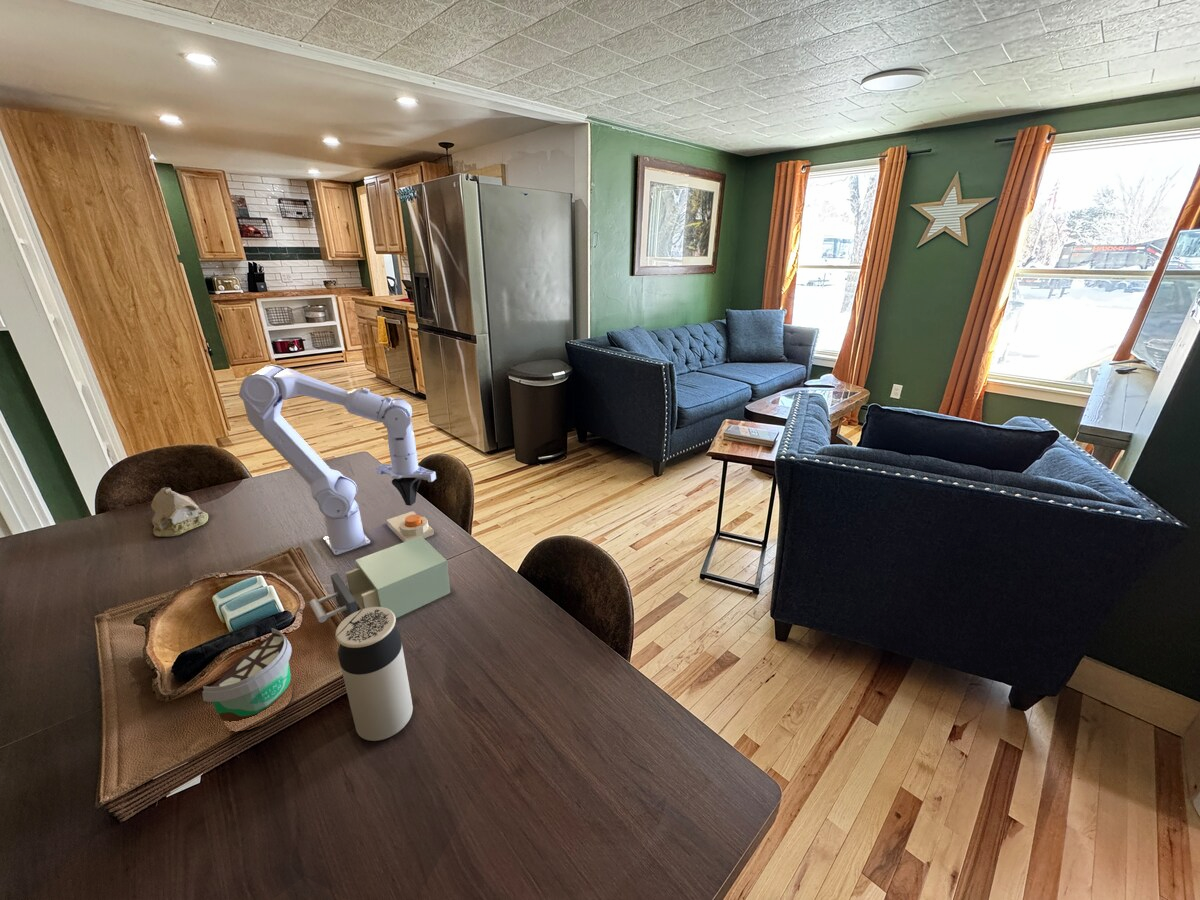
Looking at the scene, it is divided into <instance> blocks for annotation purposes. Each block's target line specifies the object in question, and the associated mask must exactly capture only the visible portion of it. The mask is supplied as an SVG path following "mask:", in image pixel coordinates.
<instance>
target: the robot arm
mask: <svg viewBox="0 0 1200 900" xmlns="http://www.w3.org/2000/svg"><path fill="white" fill-rule="evenodd" d="M370 390H371V389H370V388H367V387H363V388H362V389H361V388H359V387H358V388H355V389H352V390H347V389H344V388H342V387H338V386H336V385H333V384H330V383H328V382H325V381H323V380H320V379H318V378H315V377H312V376H309V375H307V374H303V373H302V372H299V371H297V370H295V369H293V368H287V367H286V368H284V367H283V366H281V365H278V364H267V365H264V366H262V367H261V368H260V369H259V370H258V371H255V372H254V373H251V374H249V375H247V376H246V377H244V378H243V380H242V382H241V384H240V388H239V392H238V397H239V398H240V399H241V400H242V401H243V405H244V406H243V407H244V409H245V413H246V417H247V421H248V422H249V423H250V425H251V426H252V427H253V429H255V430H256V431H257V432H258V433H259V434H260V435H261V436H262V437H263V438H264V440H265V441H267V442H268V443H269V444H270V445H271V447H273V449H274V450H275V451H276V452H277V453H278V454H280V456H281V457H282V458H283V459H284V460H285V461H286V462H287V463H288V464H289V465H290V466H291V467H292V468H293V469H294V470H295V471H296V472H297V474H299V476H301V478H303V479H304V480H305V482H306V483H307V484H308V485H309V488H310V491H311V495H312V498H313V500H314V501H315V502H316V503H317V505H318V509H319V511H320V512H321V514H322V515H323V521H324V525H325V529H326V534H327V535H326V536H324V537H323V540H324V542H325V543H326V545H327V547H328V548H329V549H330V550H331V552H332V554H333V555H334V556H339V555H341V554H344V553H347V552H350V551H353V550H356V549H358V548H361V547H365V546H367V545H370V544H371V543H372V542H371V540H370V539H369V537H368V536H367V535H366V534H365V532H364V529H363V528H364V527H363V523H362V522H363V521H362V517H361V512H360V507H359V503H358V502H357V501H356V500H355V497H356V495H358V486H357V483H356V482H355V481H354V480H353V479H351V478H349V477H347V476H345V475H344V474H343V473H342V472H341V471H339V470H336V469H333V468H331V467H330V466H329V465H328V464H327V463H326V462H325V461H324V459H322V458H321V457H320V456H319V454H318V453H317V452H316V451H315V450H314V449H313V448H312V447H311V445H309V444H308V442H307V441H306V440H305V439H304V438H303V437H302V436H301V435H300V434H299V432H298V431H297V430H296V429H295V428H293V426H292V425H291V424H290V423H289V422H288V421H287V420H286V419H285V418H284V416H283V415H282V413H281V411H282V407H283V403H284V400H288V399H293V398H295V397H296V398H297V397H299V396H305V397H309V398H312V399H316V400H321V401H325V402H328V403H332V404H335V405H340V406H343V407H344V408H345V410H346V411H347V412H348V414H350V415H354V416H357V417H361V418H364V419H368V420H370V421H374V422H376V423H382V425H383V426H384V427H385V428H386V433H387V434H386V438H387V443H388V450H389V451H388V452H389V457H390V464H389V463H381V464H379V465H377V466H376V473H377V475H380V476H382V475H389V476H390V475H391V478H392V480H391V484H392V485H393V486H394V488H395V489H396V490H397V491H398V493H399V494H400V496H401V499H403V502H404V504H405V505H406V506H409V507H412V506H413V505H414V504H415V503H416V500H417V494H418V489H419V487H420V484H421V482H422V480H424V481H427V482H428V483H433V482H434V481H435V480H437V473H436V471H435V470H431V469H428V468H425V467H422V466H421V465H419V461H418V460H419V459H418V452H417V446H416V438H415V432H414V425H413V422H412V417H413V407H412V406H411V404H410V402H408V401H407V400H405V399H403V398H401V397H392V396H387V397H385V396H383V395H381V394H376V393H373V392H371V391H370Z"/></svg>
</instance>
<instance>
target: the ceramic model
mask: <svg viewBox="0 0 1200 900" xmlns="http://www.w3.org/2000/svg"><path fill="white" fill-rule="evenodd" d="M150 506H151V509H152V511H153V512H155V513H153V517H152V519H151V522H152V526H154V527H153V529H152V531H153V532H152V533H153V535H154V536H155V537H176V536H180V535H182V534H184V533H186V532H188V531H190V530H191V531H192V530H193V529H195V528H199V527H201V526H203V525H205V524H206V523H207V522H208V519H209V513H207V512H206V511H203V510H202V509H200V507H199V505H198V504H197V503H196V502H195V501H194V500H193V499H192V498H191V497H189V496H188V495H183V494H181V493H178V492H176V491H173V490H172V489H171V487H168V486H167V487H165V486H164V487H162V488H160V489H159V491H158V492H157V493H155V495H154V497H153V499H152V501H151V504H150Z"/></svg>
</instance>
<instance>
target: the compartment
mask: <svg viewBox="0 0 1200 900" xmlns="http://www.w3.org/2000/svg"><path fill="white" fill-rule="evenodd" d="M345 576H346V580H347V585H348V587H347V585H346V584H345V582H344V580H342V578H341V576H340V575H339V573H338V572H335V573H333V574H332V573H331V574H330V580H331V584H332V588H333V592H334V593H331V594H329V595H326V596H324V597H322V598H319V599H317V598H312V599H311V600H310V601H309V605H310V606H309V607H310V608H311V610H312V611H313V613H314V615H315V617H316V619H317V621H318V622H319V623H322V624H323V623H325V622H327V620H328V618H331V617H332V616H335V615H338V614H340V613H342V612H343V614H344V616H345V618H346V617H348V616H349V615H351V614H353V613H354V612H357V611H359V610H362V609H365V608H370V607H380V606H379V601H378V596H377V591H376V589H375V588H374V587H373V585H372V584H371V583H370V581H369V580H368V579H367V577H366V576H365V575H364V573H363V572H362V571H361V569H360V568H357V567H356V568H354V569H351V570H349V571H346V572H345ZM334 598H335V601H336V603H337V605H338V606H339V607H337V608H336V609H334V610H332V611H329V612H327V613H326V612H325V610H324V609H323V607H322V603H324V602H328V601H329V600H332V599H334ZM358 609H359V610H358Z"/></svg>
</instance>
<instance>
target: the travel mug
mask: <svg viewBox="0 0 1200 900" xmlns="http://www.w3.org/2000/svg"><path fill="white" fill-rule="evenodd" d="M396 621H397V618H395V615H394V613H393V612H392V611H391V610H389V609H387V608H383V607H370V608H365V609H362V610H360V609H359V610H358V611H357V612H354V613H353V614H351V615H349V616H348V617H346V616H345V618H344V619H342V621H341V622H340V623H339V624H338V626H337V627H336V630H335V640H336V641H337V643H338V644H339V646H338V647H337V648H338V649H337V657H338V661H339V666H340V670H341V673H342V677H343V682H344V685H345V691H346V695H347V698H348V702H349V707H350V712H351V715H352V718H353V724H354V728H355V731H356V733H357V735H358V736H359V737H360V738H361V739H363V740H366V741H370V742H371V741H372V742H376V741H382V740H386V739H389V738H390V737H393V736H395V735H396V734H398V733H399V732H400V731H401V730H403V728H405V726H406V725H407V724H408V723H409V721H410V719H411V718H412V715H413V710H414V706H413V699H412V694H411V688H410V683H409V676H408V672H407V667H406V666H407V665H406V660H405V659H406V658H405V653H404V648H403V642H402V636H401V632H400V629H398V627H397V626H396V623H397V622H396Z"/></svg>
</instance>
